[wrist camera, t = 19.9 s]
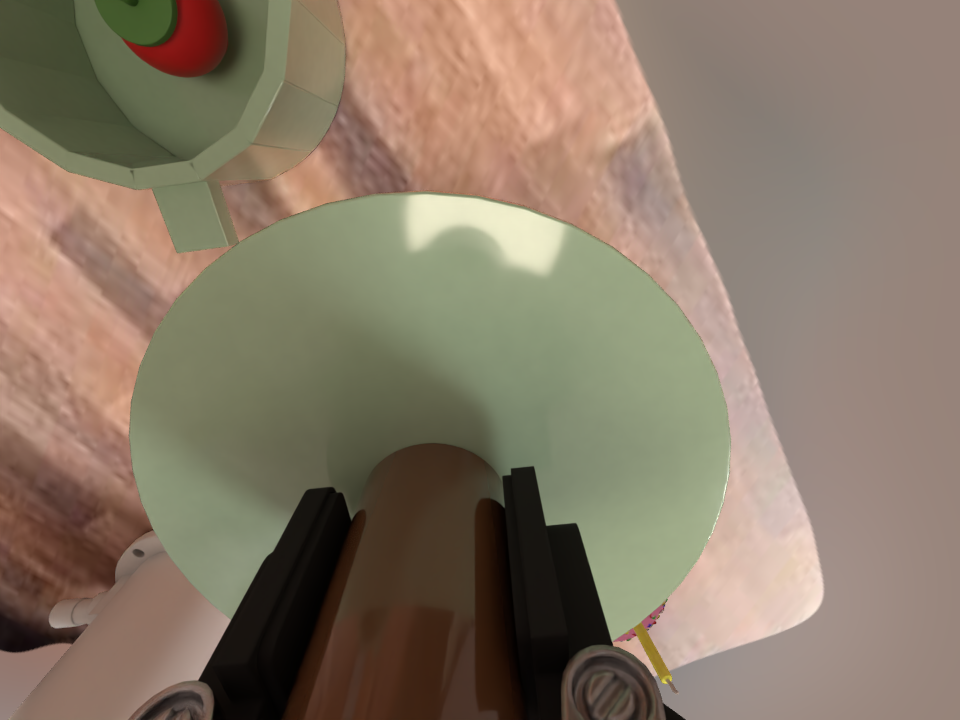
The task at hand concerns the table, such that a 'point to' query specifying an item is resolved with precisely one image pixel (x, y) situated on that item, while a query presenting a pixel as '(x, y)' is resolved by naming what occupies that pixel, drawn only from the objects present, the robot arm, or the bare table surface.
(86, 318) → the table surface
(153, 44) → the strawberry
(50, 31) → the pot
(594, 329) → the lid
